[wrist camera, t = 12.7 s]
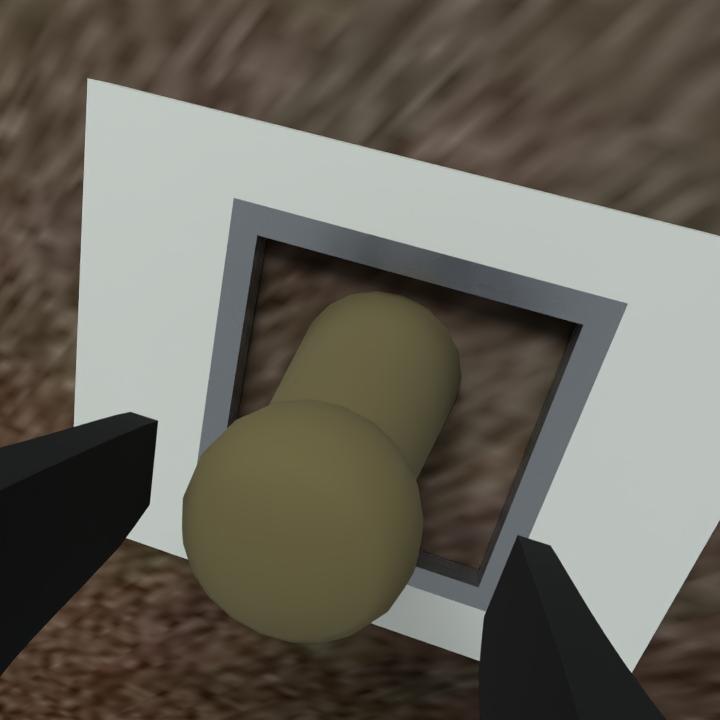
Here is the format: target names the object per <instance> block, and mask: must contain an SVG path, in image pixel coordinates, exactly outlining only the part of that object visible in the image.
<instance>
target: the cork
mask: <svg viewBox="0 0 720 720" xmlns="http://www.w3.org/2000/svg"><path fill="white" fill-rule="evenodd" d="M460 378H461V372H460V364H459V356H458V350H457V348H456V346H455V344H454V342H453V340H452V338H451V336H450V334H449V332H448V330H447V328H446V327H445V326H444V325H443V324H442V322H441V321H440V320H439V319H438V318H437V317H436V316H435V315H434V314H433V313H432V312H431V311H430V310H429V309H428V308H426V307H424V306H422V305H421V304H419V303H417V302H415V301H413V300H411V299H409V298H407V297H406V296H404V295H398V294H393V293H387V292H382V291H371V292H363V293H355V294H350V295H348V296H346V297H344V298H342V299H340V300H338V301H336V302H334V303H332V304H330V305H328V306H327V307H326V308H325V309H324V311H323V312H322V313H321V314H320V315H319V316H318V317H317V318H316V319H315V320H314V321H313V322H312V323H311V325H310V327H309V329H308V331H307V333H306V335H305V337H304V339H303V340H302V342H301V344H300V346H299V348H298V350H297V352H296V354H295V356H294V358H293V360H292V362H291V364H290V366H289V368H288V369H287V371H286V373H285V375H284V377H283V379H282V381H281V383H280V385H279V387H278V389H277V391H276V393H275V395H274V397H273V399H272V400H271V402H270V404H269V406H267V407H264V408H262V409H260V410H258V411H255V412H253V413H251V414H248V415H246V416H244V417H242V418H239V419H237V420H235V421H234V422H233V423H232V424H231V425H230V426H229V427H228V428H227V429H226V430H225V431H224V432H223V433H222V434H221V435H220V436H219V437H218V438H217V439H216V440H215V441H214V442H213V443H212V444H211V445H210V446H209V447H208V448H207V449H206V450H205V451H204V452H203V453H202V454H201V456H200V459H199V461H198V463H197V466H196V468H195V470H194V473H193V475H192V478H191V480H190V482H189V485H188V487H187V489H186V492H185V494H184V496H183V505H182V537H183V545H184V548H185V552H186V555H187V558H188V561H189V564H190V568H191V571H192V573H193V574H194V576H195V577H196V579H197V580H198V582H199V583H200V585H201V586H202V588H203V589H204V591H205V592H206V594H207V595H208V597H209V598H210V599H212V600H213V601H214V602H215V603H216V604H217V605H218V606H219V607H220V608H221V609H223V610H224V611H225V612H226V613H227V614H228V615H229V616H230V617H231V618H233V619H234V620H236V621H238V622H240V623H242V624H243V625H245V626H247V627H249V628H251V629H252V630H254V631H256V632H258V633H260V634H263V635H266V636H270V637H273V638H277V639H280V640H284V641H287V642H291V643H326V642H329V641H333V640H337V639H341V638H345V637H349V636H351V635H353V634H354V633H356V632H358V631H359V630H361V629H363V628H364V627H366V626H367V625H369V624H370V623H372V622H373V621H375V620H376V619H378V618H379V617H381V616H382V615H384V614H385V613H387V612H388V611H389V610H390V608H391V607H392V605H393V604H394V603H395V601H396V600H397V598H398V597H399V595H400V594H401V592H402V591H403V590H404V588H405V587H406V585H407V583H408V582H409V580H410V578H411V577H412V575H413V573H414V571H415V568H416V563H417V558H418V554H419V549H420V544H421V540H422V533H423V526H424V520H423V514H422V507H421V501H420V495H419V489H418V485H417V481H416V480H417V478H418V476H419V474H420V472H421V470H422V468H423V466H424V464H425V461H426V459H427V457H428V455H429V453H430V451H431V449H432V447H433V445H434V443H435V441H436V439H437V437H438V435H439V433H440V431H441V429H442V427H443V425H444V423H445V421H446V419H447V417H448V415H449V413H450V411H451V409H452V406H453V404H454V402H455V400H456V397H457V392H458V388H459V383H460Z"/></svg>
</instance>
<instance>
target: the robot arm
mask: <svg viewBox="0 0 720 720" xmlns="http://www.w3.org/2000/svg"><path fill="white" fill-rule="evenodd" d="M157 428H158V420H155V419H152V418H148V417H145V416H142V415H139V414H136V413H133V412H127V413H122V414H118V415H114V416H110V417H106V418H103V419H99V420H96V421H92V422H89V423H85V424H82V425H79V426H75V427H72V428H69V429H65V430H62V431H58V432H55V433H52V434H48V435H45V436H41V437H38V438H34V439H31V440H28V441H24V442H20V443H17V444H13V445H9V446H5V447H1V448H0V676H1V675H2V674H3V672H4V671H5V670H6V669H7V667H8V666H9V665H10V663H11V662H12V661H13V660H14V659H15V658H16V656H17V655H18V654H19V653H20V652H21V651H22V650H23V649H24V647H25V646H26V645H27V644H28V643H29V642H30V641H31V639H32V638H33V637H34V636H35V635H36V634H37V633H38V632H39V631H40V630H41V629H42V628H43V627H44V626H45V625H46V624H47V623H48V622H49V620H50V619H51V618H52V617H53V616H54V615H55V614H56V613H57V612H58V611H59V610H60V609H61V608H62V607H63V606H64V605H65V604H66V603H67V602H68V601H69V600H70V598H71V597H72V596H73V595H74V594H75V593H76V592H77V591H78V590H79V589H80V588H81V587H82V586H83V585H84V584H85V583H86V582H87V581H88V580H89V579H90V578H91V576H92V575H93V574H94V573H95V572H96V571H97V570H98V569H99V568H100V567H101V566H102V565H103V564H104V563H105V562H106V561H107V559H108V558H109V557H110V556H111V555H112V554H113V553H114V552H115V551H116V550H117V549H118V547H119V546H120V545H121V544H122V543H123V541H124V540H125V539H126V537H127V536H128V535H129V533H130V532H131V531H132V529H133V528H134V527H135V525H136V524H137V522H138V521H139V519H140V518H141V517H142V515H143V514H144V512H145V511H146V509H147V508H148V507H149V505H150V498H151V488H152V478H153V468H154V458H155V448H156V438H157ZM479 699H480V720H666V719H665V718H664V716H663V715H662V714H661V712H660V711H659V710H658V709H657V707H656V706H655V705H654V703H653V702H652V701H651V699H650V698H649V697H648V695H647V694H646V692H645V691H644V690H643V688H642V687H641V685H640V684H639V683H638V681H637V680H636V678H635V677H634V676H633V674H632V673H631V671H630V670H629V669H628V667H627V666H626V664H625V663H624V662H623V660H622V659H621V657H620V656H619V654H618V653H617V651H616V650H615V648H614V647H613V645H612V644H611V642H610V641H609V639H608V638H607V636H606V635H605V633H604V632H603V630H602V628H601V627H600V625H599V624H598V622H597V621H596V619H595V617H594V616H593V614H592V613H591V611H590V609H589V608H588V606H587V605H586V603H585V601H584V600H583V598H582V596H581V595H580V593H579V591H578V590H577V588H576V586H575V585H574V583H573V581H572V580H571V578H570V576H569V575H568V573H567V571H566V570H565V568H564V566H563V565H562V563H561V561H560V560H559V558H558V556H557V555H556V553H555V551H554V550H553V548H552V547H551V545H548V544H544V543H541V542H538V541H535V540H532V539H529V538H526V537H522V536H519V535H517V537H516V540H515V542H514V545H513V547H512V550H511V552H510V555H509V557H508V559H507V562H506V564H505V567H504V569H503V572H502V574H501V576H500V579H499V581H498V584H497V586H496V589H495V591H494V594H493V596H492V598H491V601H490V603H489V606H488V608H487V611H486V613H485V615H484V620H483V630H482V640H481V651H480V663H479Z"/></svg>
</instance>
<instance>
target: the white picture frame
mask: <svg viewBox="0 0 720 720" xmlns="http://www.w3.org/2000/svg"><path fill="white" fill-rule="evenodd" d="M267 238H269V239H273V240H277V241H280V242H284V243H288V244H291V245H295V246H299V247H302V248H306V249H309V250H313V251H317V252H320V253H324V254H328V255H331V256H335V257H339V258H342V259H346V260H350V261H353V262H357V263H360V264H364V265H368V266H371V267H375V268H379V269H382V270H386V271H390V272H393V273H397V274H400V275H404V276H408V277H411V278H415V279H419V280H422V281H426V282H430V283H433V284H437V285H440V286H444V287H448V288H451V289H455V290H459V291H462V292H466V293H470V294H473V295H477V296H480V297H484V298H488V299H491V300H495V301H499V302H502V303H506V304H510V305H513V306H517V307H520V308H524V309H528V310H531V311H535V312H539V313H542V314H546V315H550V316H553V317H557V318H561V319H564V320H568V321H571V322H575V323H576V325H575V327H574V330H573V332H572V335H571V337H570V340H569V342H568V345H567V347H566V350H565V353H564V355H563V358H562V360H561V363H560V365H559V368H558V370H557V373H556V375H555V378H554V381H553V383H552V386H551V388H550V391H549V393H548V396H547V398H546V401H545V403H544V406H543V408H542V411H541V414H540V416H539V419H538V421H537V424H536V426H535V429H534V431H533V434H532V436H531V439H530V442H529V444H528V447H527V449H526V452H525V454H524V457H523V459H522V462H521V464H520V467H519V469H518V472H517V475H516V477H515V480H514V482H513V485H512V487H511V490H510V492H509V495H508V497H507V500H506V503H505V505H504V508H503V510H502V513H501V515H500V518H499V520H498V523H497V525H496V528H495V530H494V533H493V536H492V538H491V541H490V543H489V546H488V548H487V551H486V553H485V556H484V558H483V561H482V564H481V566H480V569H479V570H477V569H474V568H471V567H468V566H465V565H462V564H459V563H456V562H453V561H450V560H447V559H444V558H441V557H437V556H434V555H431V554H428V553H425V552H422V551H419V554H418V558H417V563H416V568H415V571H414V573H413V575H412V577H411V578H410V580H409V582H408V583H407V585H406V587H405V588H404V590H403V591H402V592H401V594H400V595H399V597H398V598H397V600H396V601H395V603H394V604H393V605H392V607H391V608H390V610H389V611H388V612H387V613H385V614H384V615H382V616H381V617H379V618H378V619H376V620H375V621H373V622H372V624H375V625H378V626H381V627H383V628H386V629H389V630H392V631H395V632H398V633H401V634H404V635H406V636H409V637H412V638H415V639H418V640H421V641H424V642H427V643H429V644H432V645H435V646H438V647H441V648H444V649H447V650H450V651H452V652H455V653H458V654H461V655H464V656H467V657H470V658H473V659H475V660H478V661H480V651H481V640H482V630H483V620H484V615H485V613H486V611H487V608H488V606H489V603H490V601H491V598H492V596H493V594H494V591H495V589H496V586H497V584H498V581H499V579H500V576H501V574H502V572H503V569H504V567H505V564H506V562H507V559H508V557H509V555H510V552H511V550H512V547H513V545H514V542H515V540H516V537H517V535H519V536H522V537H526V538H529V539H532V540H535V541H538V542H541V543H544V544H548V545H551V547H552V548H553V550H554V551H555V553H556V555H557V556H558V558H559V560H560V561H561V563H562V565H563V566H564V568H565V570H566V571H567V573H568V575H569V576H570V578H571V580H572V581H573V583H574V585H575V586H576V588H577V590H578V591H579V593H580V595H581V596H582V598H583V600H584V601H585V603H586V605H587V606H588V608H589V609H590V611H591V613H592V614H593V616H594V617H595V619H596V621H597V622H598V624H599V625H600V627H601V628H602V630H603V632H604V633H605V635H606V636H607V638H608V639H609V641H610V642H611V644H612V645H613V647H614V648H615V650H616V651H617V653H618V654H619V656H620V657H621V659H622V660H623V662H624V663H625V664H626V666H627V667H628V669H629V670H630V671H631V673H632V671H633V670H634V668H635V666H636V664H637V663H638V661H639V659H640V657H641V656H642V654H643V652H644V651H645V649H646V647H647V645H648V644H649V642H650V640H651V638H652V637H653V635H654V633H655V631H656V630H657V628H658V626H659V624H660V623H661V621H662V619H663V618H664V616H665V614H666V612H667V611H668V609H669V607H670V605H671V604H672V602H673V600H674V598H675V597H676V595H677V593H678V591H679V590H680V588H681V586H682V585H683V583H684V581H685V579H686V578H687V576H688V574H689V572H690V571H691V569H692V567H693V565H694V564H695V562H696V560H697V558H698V557H699V555H700V553H701V552H702V550H703V548H704V546H705V545H706V543H707V541H708V539H709V538H710V536H711V534H712V532H713V531H714V529H715V527H716V526H717V524H718V522H719V520H720V236H718V235H714V234H711V233H707V232H703V231H699V230H695V229H691V228H687V227H683V226H679V225H675V224H671V223H667V222H663V221H659V220H655V219H651V218H647V217H643V216H639V215H635V214H631V213H627V212H623V211H619V210H615V209H611V208H607V207H603V206H599V205H595V204H591V203H587V202H583V201H579V200H575V199H571V198H567V197H563V196H559V195H555V194H551V193H547V192H543V191H539V190H535V189H531V188H527V187H523V186H519V185H515V184H511V183H507V182H503V181H499V180H495V179H491V178H487V177H483V176H479V175H475V174H471V173H467V172H463V171H459V170H455V169H451V168H447V167H443V166H439V165H435V164H431V163H427V162H423V161H419V160H415V159H411V158H407V157H403V156H399V155H395V154H391V153H387V152H383V151H379V150H375V149H371V148H367V147H363V146H359V145H355V144H351V143H347V142H344V141H340V140H336V139H332V138H328V137H324V136H320V135H316V134H312V133H308V132H304V131H300V130H296V129H292V128H288V127H284V126H280V125H276V124H272V123H268V122H264V121H260V120H256V119H252V118H248V117H244V116H240V115H236V114H232V113H228V112H224V111H220V110H216V109H212V108H208V107H204V106H200V105H196V104H192V103H188V102H184V101H180V100H176V99H172V98H168V97H164V96H160V95H156V94H152V93H148V92H144V91H140V90H136V89H132V88H128V87H124V86H120V85H116V84H112V83H108V82H103V81H98V80H93V79H88V84H87V110H86V135H85V160H84V185H83V210H82V235H81V260H80V285H79V311H78V336H77V361H76V386H75V411H74V427H75V426H79V425H82V424H85V423H89V422H92V421H96V420H99V419H103V418H106V417H110V416H114V415H118V414H122V413H127V412H133V413H136V414H139V415H142V416H145V417H148V418H152V419H155V420H158V428H157V438H156V448H155V458H154V468H153V478H152V488H151V498H150V505H149V507H148V508H147V509H146V511H145V512H144V514H143V515H142V517H141V518H140V519H139V521H138V522H137V524H136V525H135V527H134V528H133V529H132V531H131V532H130V533H129V535H128V536H127V537H126V538H128V539H131V540H133V541H136V542H139V543H142V544H145V545H148V546H151V547H154V548H156V549H159V550H162V551H165V552H168V553H171V554H174V555H177V556H179V557H182V558H185V559H188V558H187V555H186V552H185V548H184V545H183V537H182V505H183V496H184V494H185V492H186V489H187V487H188V485H189V482H190V480H191V478H192V475H193V473H194V470H195V468H196V466H197V463H198V461H199V459H200V456H201V454H202V453H203V452H204V451H205V450H206V449H207V448H208V447H209V446H210V445H211V444H212V443H213V442H214V441H215V440H216V439H217V438H218V437H219V436H220V435H221V434H222V433H223V432H224V431H225V430H226V429H227V428H228V427H229V426H230V425H231V424H232V423H233V422H234V421H235V420H237V416H238V410H239V404H240V398H241V392H242V386H243V380H244V374H245V367H246V361H247V355H248V349H249V343H250V337H251V331H252V325H253V319H254V313H255V306H256V300H257V294H258V288H259V282H260V276H261V270H262V264H263V258H264V252H265V245H266V239H267Z"/></svg>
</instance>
